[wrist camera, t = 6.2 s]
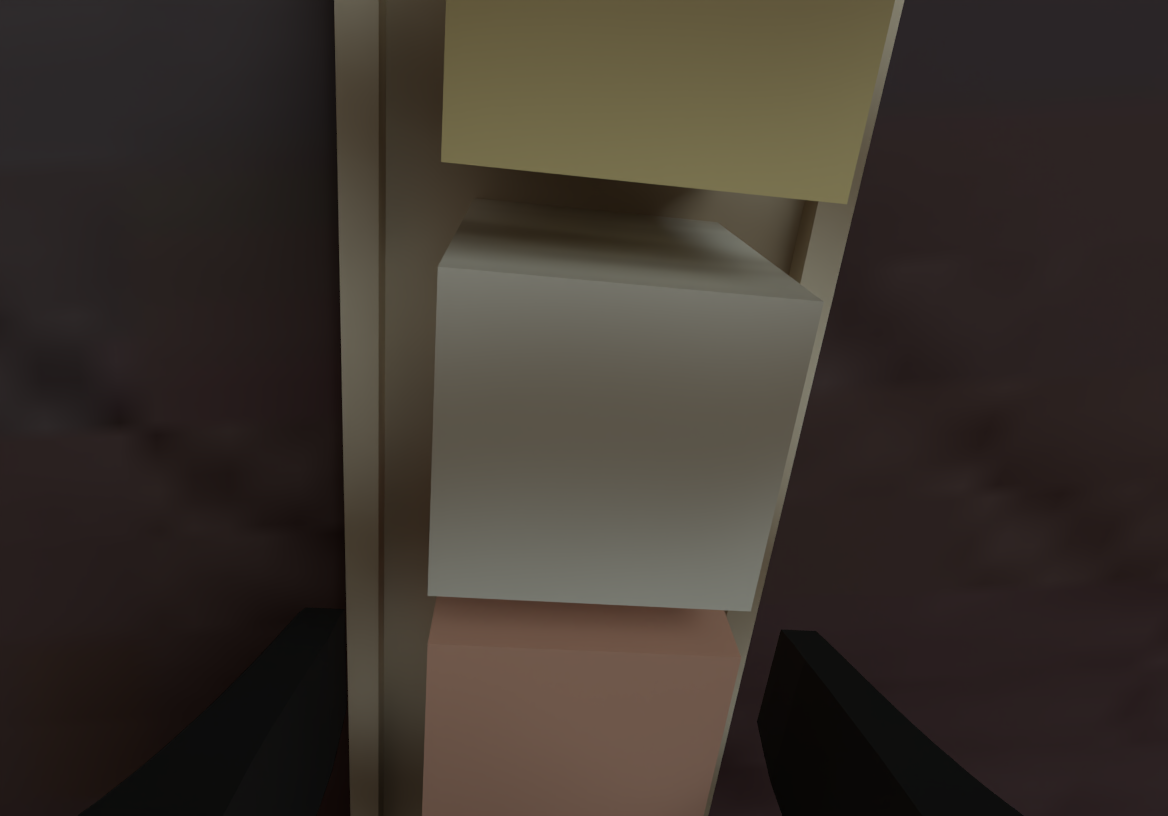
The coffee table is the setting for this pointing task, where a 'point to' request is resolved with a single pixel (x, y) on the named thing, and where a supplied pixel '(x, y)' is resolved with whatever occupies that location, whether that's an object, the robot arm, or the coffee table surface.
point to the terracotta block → (574, 708)
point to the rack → (578, 309)
